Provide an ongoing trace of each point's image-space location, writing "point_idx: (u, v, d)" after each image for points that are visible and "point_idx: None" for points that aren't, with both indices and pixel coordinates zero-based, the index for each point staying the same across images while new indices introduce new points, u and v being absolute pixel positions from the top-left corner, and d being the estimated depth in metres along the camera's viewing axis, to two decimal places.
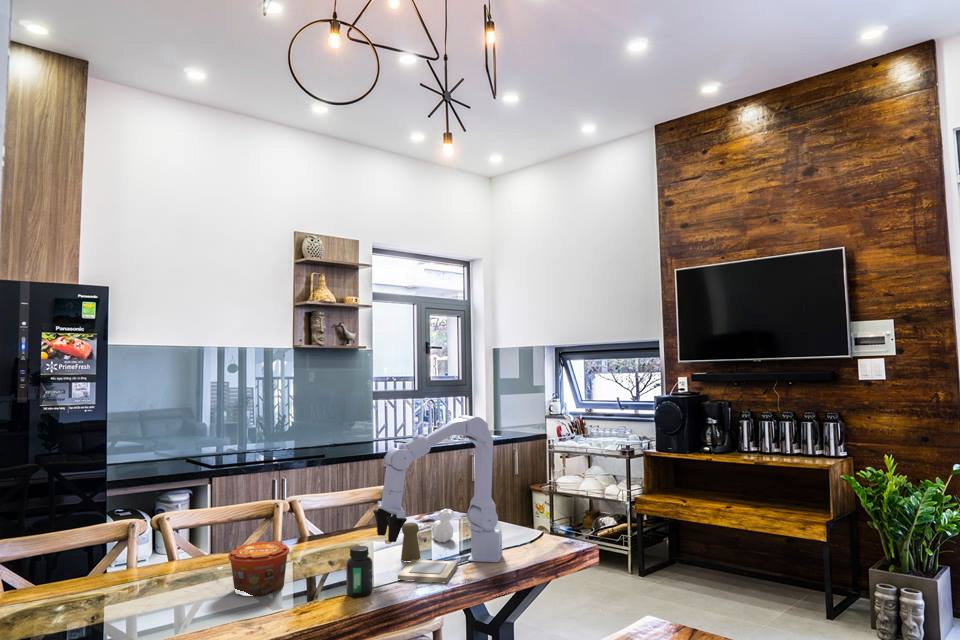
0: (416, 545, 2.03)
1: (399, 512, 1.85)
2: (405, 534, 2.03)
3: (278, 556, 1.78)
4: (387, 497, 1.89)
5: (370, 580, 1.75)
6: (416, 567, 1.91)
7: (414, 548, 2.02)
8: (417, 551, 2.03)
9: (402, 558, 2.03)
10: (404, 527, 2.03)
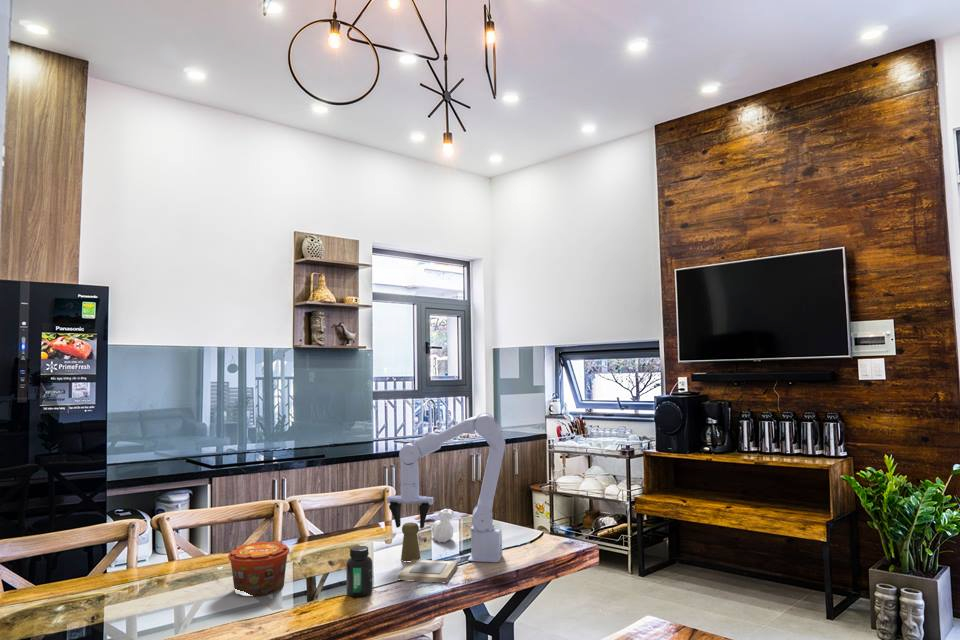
0: (416, 545, 2.03)
1: (431, 499, 2.03)
2: (405, 534, 2.03)
3: (278, 556, 1.78)
4: (412, 490, 2.03)
5: (370, 580, 1.75)
6: (416, 567, 1.91)
7: (414, 548, 2.02)
8: (417, 551, 2.03)
9: (402, 558, 2.03)
10: (404, 527, 2.03)
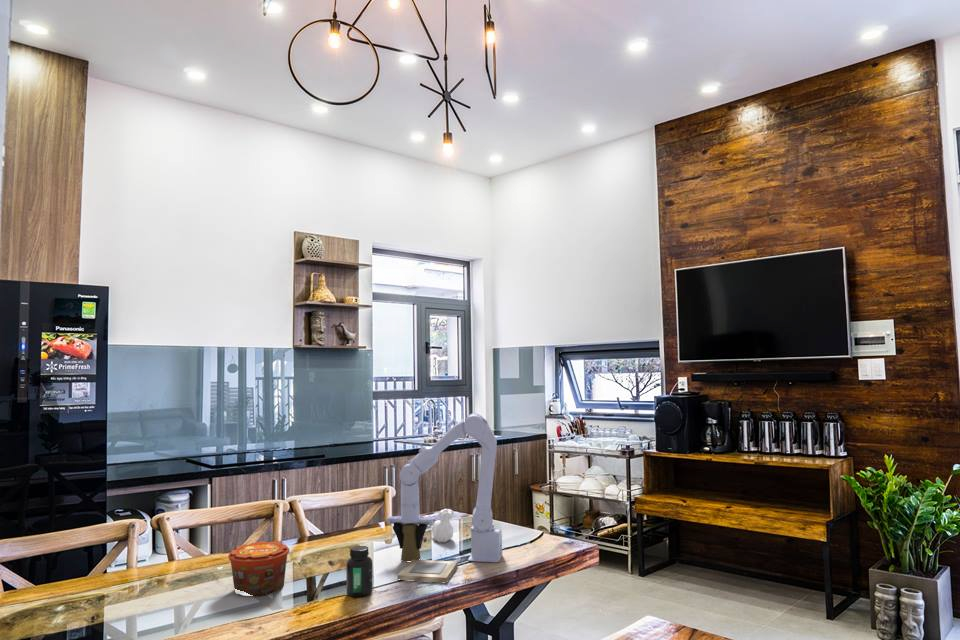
0: (416, 545, 2.03)
1: (432, 520, 2.03)
2: (405, 534, 2.03)
3: (278, 556, 1.78)
4: (413, 511, 2.02)
5: (370, 580, 1.75)
6: (416, 567, 1.91)
7: (414, 548, 2.02)
8: (417, 550, 2.03)
9: (402, 558, 2.03)
10: (404, 527, 2.03)
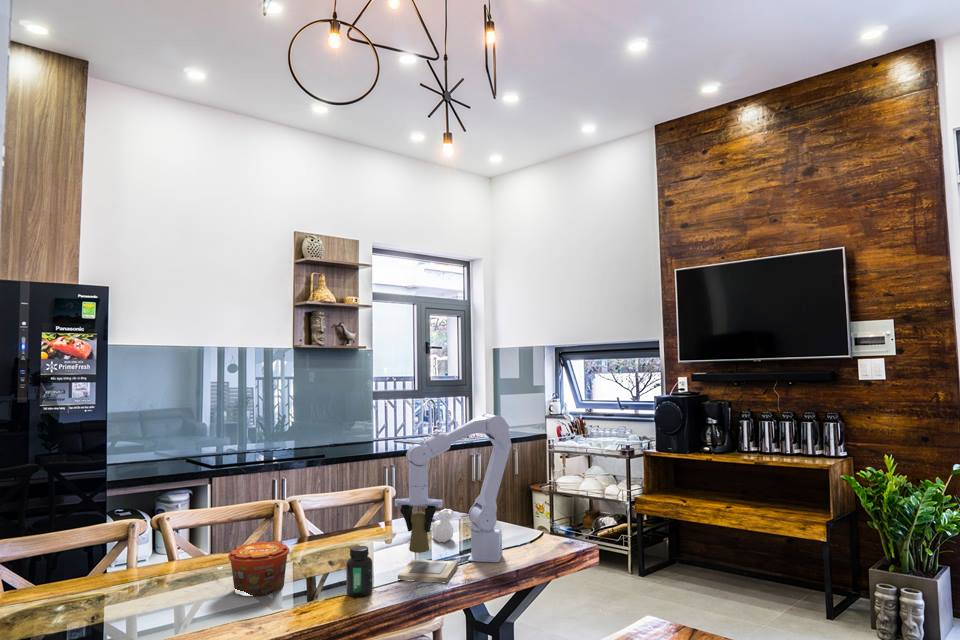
0: (425, 535, 1.97)
1: (441, 502, 1.96)
2: (414, 524, 1.97)
3: (278, 556, 1.78)
4: (421, 492, 1.96)
5: (370, 580, 1.75)
6: (416, 567, 1.91)
7: (423, 538, 1.97)
8: (426, 540, 1.97)
9: (411, 548, 1.97)
10: (413, 517, 1.97)
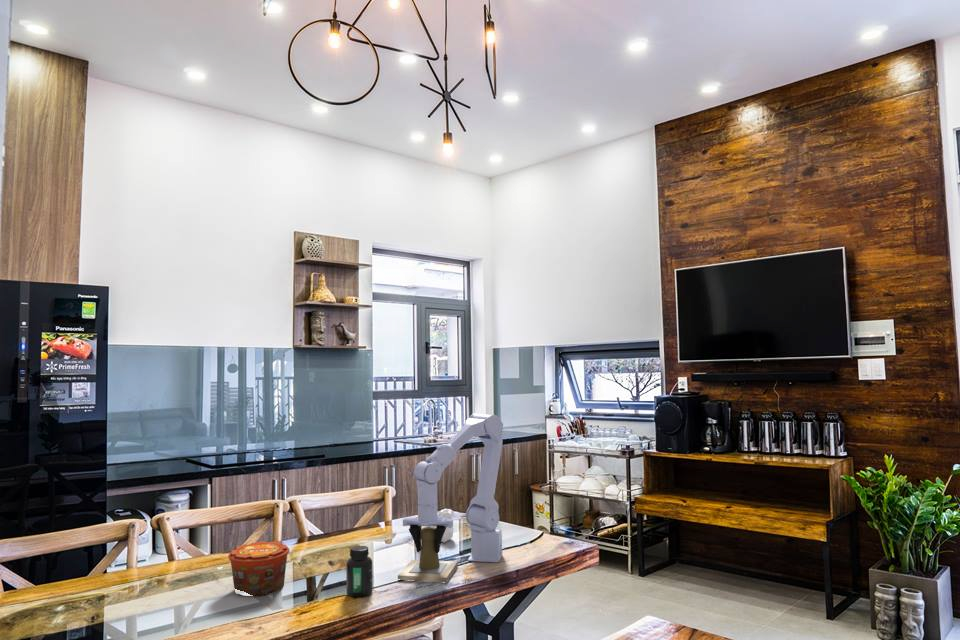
0: None
1: (451, 522, 1.89)
2: (424, 540, 1.90)
3: (278, 556, 1.78)
4: (431, 512, 1.89)
5: (370, 580, 1.75)
6: (416, 567, 1.91)
7: (434, 554, 1.90)
8: (437, 557, 1.91)
9: (421, 565, 1.90)
10: (423, 532, 1.90)
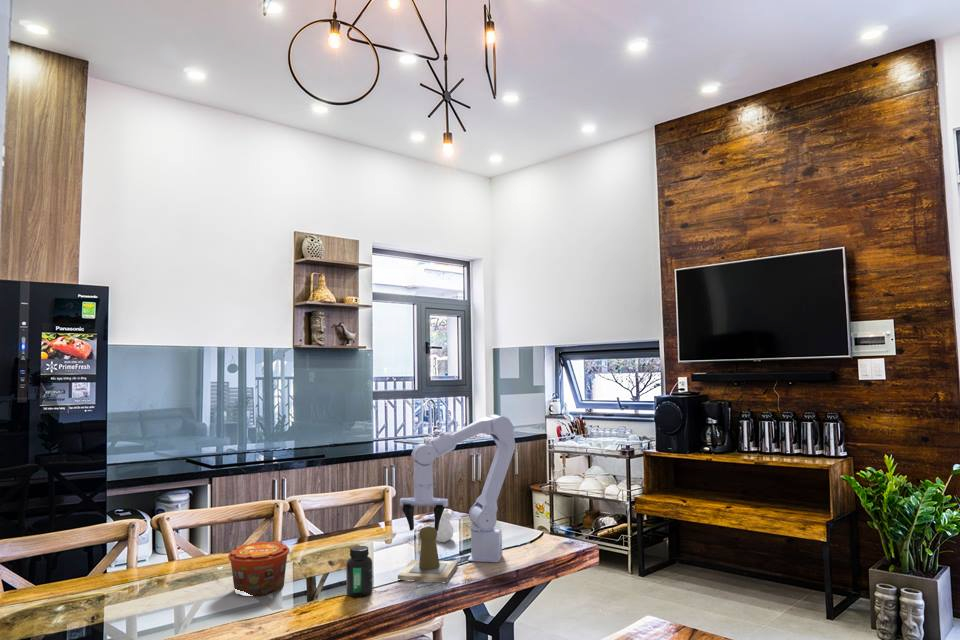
0: (435, 551, 1.91)
1: (446, 501, 1.97)
2: (424, 540, 1.90)
3: (278, 556, 1.78)
4: (427, 491, 1.97)
5: (370, 580, 1.75)
6: (416, 567, 1.91)
7: (434, 554, 1.90)
8: (437, 556, 1.91)
9: (421, 565, 1.90)
10: (422, 532, 1.90)
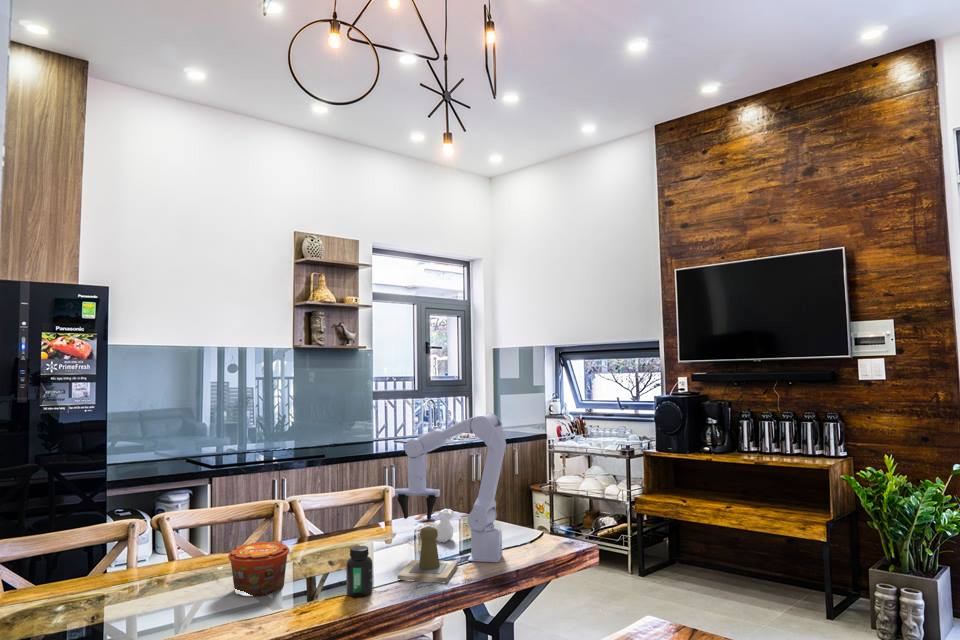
0: (436, 551, 1.91)
1: (438, 491, 2.11)
2: (424, 539, 1.90)
3: (278, 556, 1.78)
4: (420, 482, 2.11)
5: (370, 580, 1.75)
6: (416, 567, 1.91)
7: (434, 554, 1.90)
8: (437, 557, 1.91)
9: (421, 565, 1.90)
10: (423, 532, 1.91)
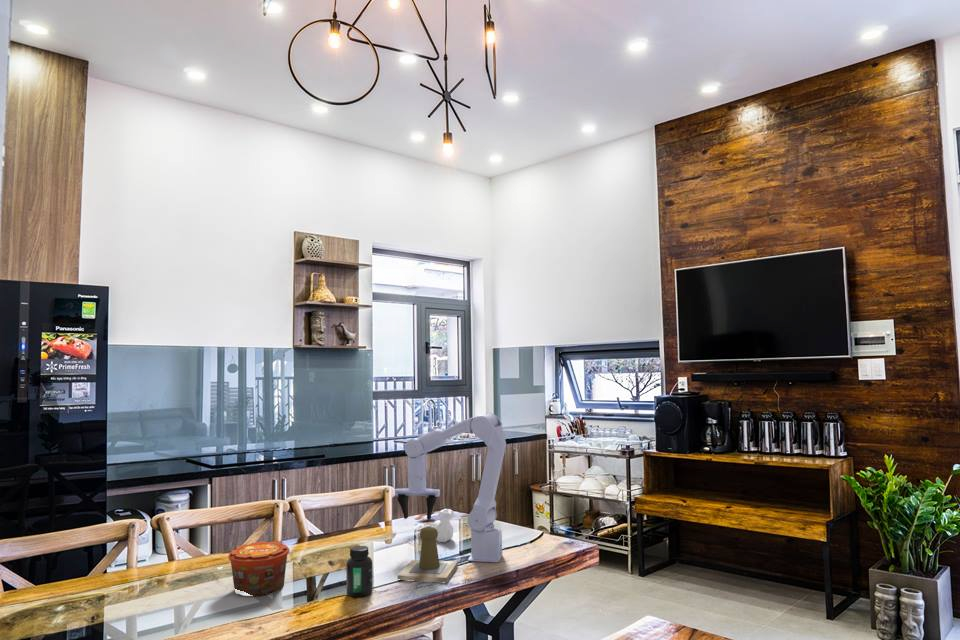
0: (436, 551, 1.91)
1: (438, 491, 2.11)
2: (424, 540, 1.90)
3: (278, 556, 1.78)
4: (420, 482, 2.11)
5: (370, 580, 1.75)
6: (416, 567, 1.91)
7: (434, 554, 1.90)
8: (437, 557, 1.91)
9: (421, 565, 1.90)
10: (423, 532, 1.91)
